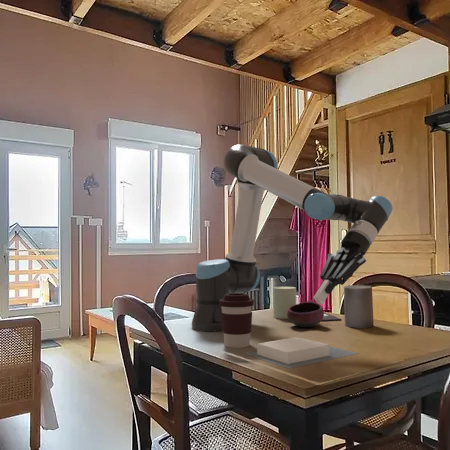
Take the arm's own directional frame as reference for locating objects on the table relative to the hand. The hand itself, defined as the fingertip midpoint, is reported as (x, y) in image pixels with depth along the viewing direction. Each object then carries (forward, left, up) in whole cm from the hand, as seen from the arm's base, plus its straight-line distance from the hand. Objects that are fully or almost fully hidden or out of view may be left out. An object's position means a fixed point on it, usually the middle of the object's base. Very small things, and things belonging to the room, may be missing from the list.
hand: (317, 301), depth 129 cm
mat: (-2, -7, -14) cm, 15 cm away
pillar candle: (-5, +43, -14) cm, 46 cm away
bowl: (-21, +33, -14) cm, 42 cm away
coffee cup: (-22, -7, -14) cm, 27 cm away
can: (-36, +46, -14) cm, 60 cm away
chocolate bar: (-24, +53, -14) cm, 60 cm away
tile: (-1, -2, -12) cm, 12 cm away
